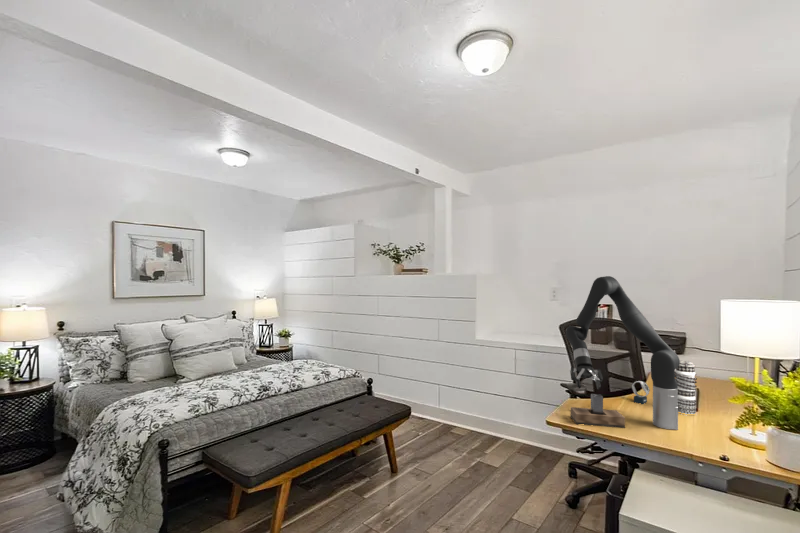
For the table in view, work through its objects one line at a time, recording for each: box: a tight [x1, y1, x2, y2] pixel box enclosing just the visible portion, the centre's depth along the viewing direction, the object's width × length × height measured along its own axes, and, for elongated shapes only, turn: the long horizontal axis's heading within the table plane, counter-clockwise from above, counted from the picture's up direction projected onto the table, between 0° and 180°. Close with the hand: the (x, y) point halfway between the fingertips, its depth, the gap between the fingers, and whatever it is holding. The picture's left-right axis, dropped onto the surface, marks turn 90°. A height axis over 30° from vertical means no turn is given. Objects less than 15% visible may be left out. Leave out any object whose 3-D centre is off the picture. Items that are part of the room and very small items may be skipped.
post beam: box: [570, 406, 626, 429], centre depth 180 cm, size 20×10×4 cm, turn 81°
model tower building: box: [675, 360, 698, 414], centre depth 197 cm, size 9×9×25 cm
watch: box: [631, 380, 650, 405], centre depth 212 cm, size 6×8×11 cm
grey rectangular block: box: [590, 393, 604, 415], centre depth 181 cm, size 4×4×11 cm
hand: (589, 388), depth 192 cm, fingers open, 8 cm apart
